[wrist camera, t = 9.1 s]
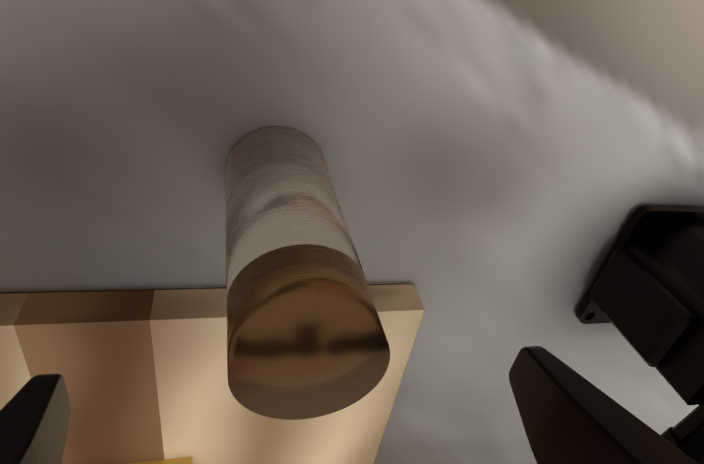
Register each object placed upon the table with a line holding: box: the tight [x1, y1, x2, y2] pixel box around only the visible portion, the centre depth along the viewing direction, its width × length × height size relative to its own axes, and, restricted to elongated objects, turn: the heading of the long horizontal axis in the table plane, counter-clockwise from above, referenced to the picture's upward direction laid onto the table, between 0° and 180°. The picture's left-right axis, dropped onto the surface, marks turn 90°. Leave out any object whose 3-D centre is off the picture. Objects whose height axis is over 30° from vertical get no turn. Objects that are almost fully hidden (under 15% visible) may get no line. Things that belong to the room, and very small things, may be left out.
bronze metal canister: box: [225, 126, 390, 420], centre depth 13 cm, size 3×3×8 cm
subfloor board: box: [0, 284, 425, 464], centre depth 22 cm, size 18×16×2 cm
